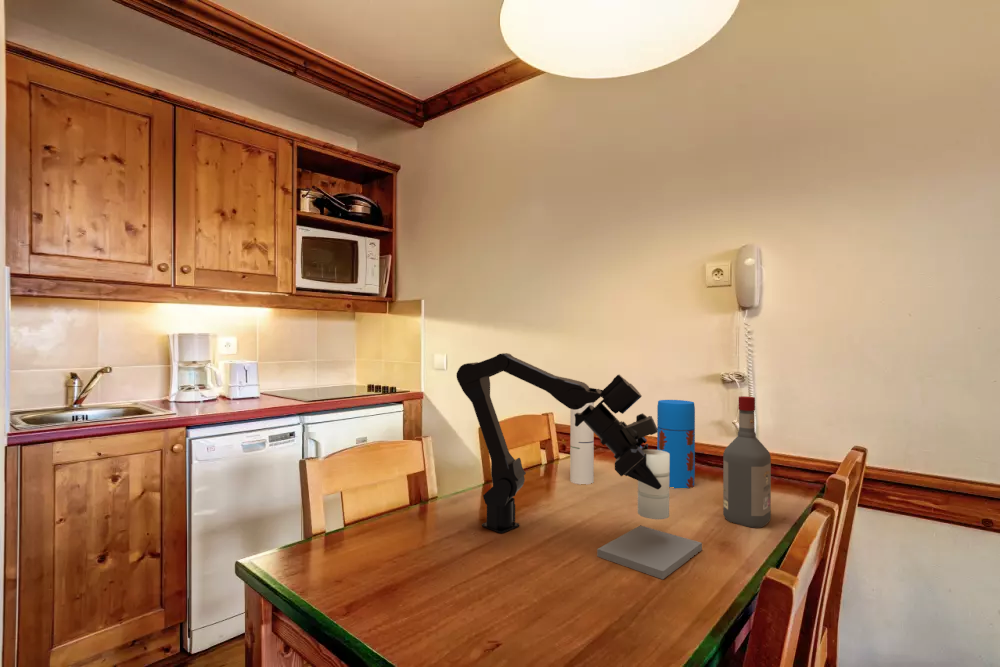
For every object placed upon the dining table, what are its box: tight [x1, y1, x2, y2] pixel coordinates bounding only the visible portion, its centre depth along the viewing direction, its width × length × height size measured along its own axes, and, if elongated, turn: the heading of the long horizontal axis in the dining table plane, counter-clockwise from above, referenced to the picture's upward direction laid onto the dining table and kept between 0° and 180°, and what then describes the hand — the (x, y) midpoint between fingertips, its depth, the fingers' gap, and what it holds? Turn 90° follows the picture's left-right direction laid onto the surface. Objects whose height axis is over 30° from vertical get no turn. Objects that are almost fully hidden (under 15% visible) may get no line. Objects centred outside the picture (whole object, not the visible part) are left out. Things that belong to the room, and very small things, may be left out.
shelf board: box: [596, 525, 703, 580], centre depth 103 cm, size 18×14×2 cm
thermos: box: [656, 399, 696, 489], centre depth 153 cm, size 11×11×25 cm
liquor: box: [722, 395, 772, 528], centre depth 122 cm, size 9×9×30 cm
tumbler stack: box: [637, 448, 670, 520], centre depth 107 cm, size 6×6×13 cm
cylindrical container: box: [569, 402, 595, 485], centre depth 155 cm, size 7×7×25 cm
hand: (660, 483), depth 106 cm, fingers closed on tumbler stack, 6 cm apart
